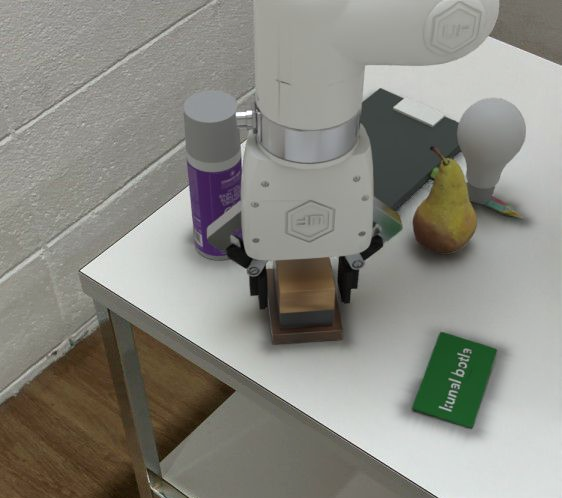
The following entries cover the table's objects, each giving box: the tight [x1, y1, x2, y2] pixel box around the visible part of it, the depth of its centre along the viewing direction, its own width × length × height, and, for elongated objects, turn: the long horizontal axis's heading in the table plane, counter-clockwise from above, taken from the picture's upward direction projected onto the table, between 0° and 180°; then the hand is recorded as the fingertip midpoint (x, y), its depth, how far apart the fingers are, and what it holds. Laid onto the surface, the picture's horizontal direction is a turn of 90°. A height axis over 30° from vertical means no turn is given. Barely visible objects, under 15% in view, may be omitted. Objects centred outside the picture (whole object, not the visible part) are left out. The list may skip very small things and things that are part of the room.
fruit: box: [412, 146, 478, 255], centre depth 83 cm, size 6×6×12 cm
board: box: [360, 87, 461, 233], centre depth 95 cm, size 20×12×1 cm, turn 141°
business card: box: [411, 331, 498, 429], centre depth 78 cm, size 9×1×5 cm
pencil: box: [430, 167, 525, 220], centre depth 93 cm, size 1×1×18 cm
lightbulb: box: [457, 97, 527, 205], centre depth 88 cm, size 6×6×11 cm
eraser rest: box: [266, 265, 344, 345], centre depth 82 cm, size 6×8×1 cm
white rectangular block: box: [393, 96, 446, 127], centre depth 99 cm, size 2×5×1 cm, turn 52°
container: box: [182, 89, 243, 261], centre depth 82 cm, size 5×5×15 cm
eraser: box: [272, 257, 336, 329], centre depth 80 cm, size 4×7×4 cm, turn 5°
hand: (302, 293), depth 81 cm, fingers open, 6 cm apart
